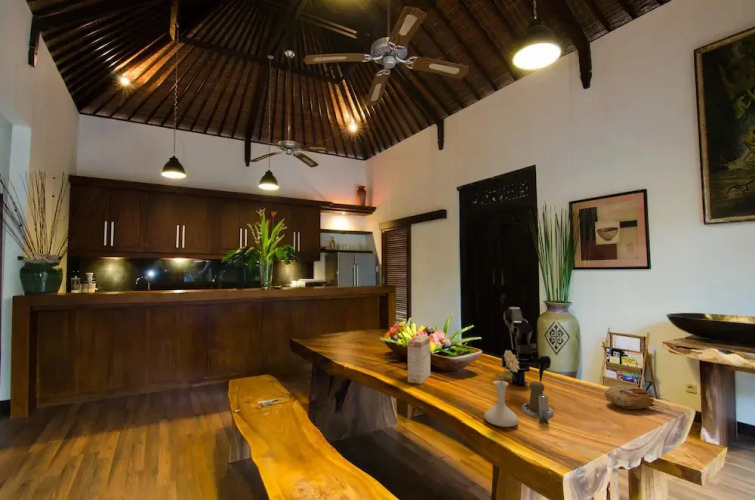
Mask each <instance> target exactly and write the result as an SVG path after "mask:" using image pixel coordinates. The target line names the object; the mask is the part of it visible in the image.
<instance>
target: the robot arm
mask: <svg viewBox="0 0 755 500" xmlns="http://www.w3.org/2000/svg"><path fill="white" fill-rule="evenodd" d="M522 312H523V311H522V310H521V308H520V307H518V306H509V307H508V309H506V310H504V312H503V321H505V322H504V323H505V326H506V327H507V328H508V329H509V335H510V342H511V350H510V351H511V352H512V354H513V355H515V356H516V357H515V358H516V359H517V361H518V362H519V364H518V365H519V370H518V369H517V371H518V372H515V371H514V372H513V371H511V370H510V368H509V367H508V366H507V367H506V365H507V364H506V361H505V358H504V356H505V355H504V354H502V356H501V366H502V368H505V367H506V370H508V371H510V372H511V373H512V376H511V380H510V381H509V384H510V385H515V386H518V387H519V386H520V387H525V386H526V385H527V384H528V381H526V372H527V373H529V372H530V366H531V364H532V365H538V372H539V374H538V375H539V376H538V377H539V382H541V383H542V379H543V374H544V372H545V371H547V370H548V369H550V368H551V363H552V360H551V357H550V356H549V355H539V356H538V358H533V357H534V353H537V352H538V348H537V343H531V342H530V340H531V337H532V334H533V333H532V332H533V330H534V329H533V328H534V327H533V326H532V324H531V323H529V321H528V320H527V319H525V318H524V317H523V313H522Z"/></svg>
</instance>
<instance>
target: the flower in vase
mask: <svg viewBox="0 0 755 500" xmlns="http://www.w3.org/2000/svg"><path fill="white" fill-rule="evenodd" d="M511 351H512V350H510V349H509V350H508V349H506V350H505V351H504V354H503V355H505V356H504V358H505V361H506V364H507V365H506V367H507V366H508V367H509V368H510V370H511V371H513V372H514V371H515V372H518V371H517V369H518V370H519V365H518V364H519V362H518V361H517V359H516V358H515V357H516V356H515V355H513V354H512V352H511ZM506 367H504V370H503V374H502V375H501V374H498V373H497V374H496V378H498V379H501V380H495V381H493V385H494V386H495V389H496V392H497V394H496V395H497V403H496V404H495V405H493V406H492V407H490V408H489V409H488V410H486V411H485V412H484V414H483V415H484V416H483V417H484V419H485V421H486V422H488V423H489V424H492V425H493V426H498V427H503V428H506V427H507V428H508V427H510V428H511V427H514V426H517V424H518V423H519V422H520V421H519V417H518V416H517V414H516V413H515V412H513V411H512V410H511V409H510V408H509V407H508V406H507V405H506V403H505V393H506V389H507V387H508V385H509V382H507V381H504V378H505V376H506V378H508V379H509V378H510V379H511V378H512V373H511V372H510V371H509V370H508V369H506Z"/></svg>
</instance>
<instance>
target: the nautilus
mask: <svg viewBox="0 0 755 500" xmlns="http://www.w3.org/2000/svg"><path fill="white" fill-rule="evenodd" d="M603 394H604V396H605V398H606V400H607V401H608V402H610V403H612V404H613V405H616V406H619V407H621V408H623V409H624V410H640V409H644V408H645V409H651V410H654V411H655V412H657V413H661V414H662V412H663V411H664V409H666V410H670V411H671V408H670V406H669V405H667V404H665V403H663V402H661V401H659V400H665V401H666V402H667V401H668V402H669V400H668V399H666V398H662V397H664V395H659V394H655V393H654V392H652V391H650V390H649V391H647V390H646V389H645V388H641V387H637V386H635V385H628V384H618V385H614V386H613V385H612V386H609V387H608V388H607V389H606V390H604V392H603ZM654 398H657V399H659V400H655V399H654ZM658 404H659V405H658ZM655 406H656V407H655ZM657 406H658V408H657ZM659 407H660V408H659ZM662 408H664V409H662Z"/></svg>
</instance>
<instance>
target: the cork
mask: <svg viewBox="0 0 755 500" xmlns="http://www.w3.org/2000/svg"><path fill="white" fill-rule="evenodd" d="M528 386H529V389H530V396H529V402H530V403H529V408H528V409H529V410H532V411H534V412H539V395H544V391H545V385H544V383H543V382H542V381H541V382H540V381H535V380H533V381H530V383H529V384H528Z"/></svg>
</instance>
